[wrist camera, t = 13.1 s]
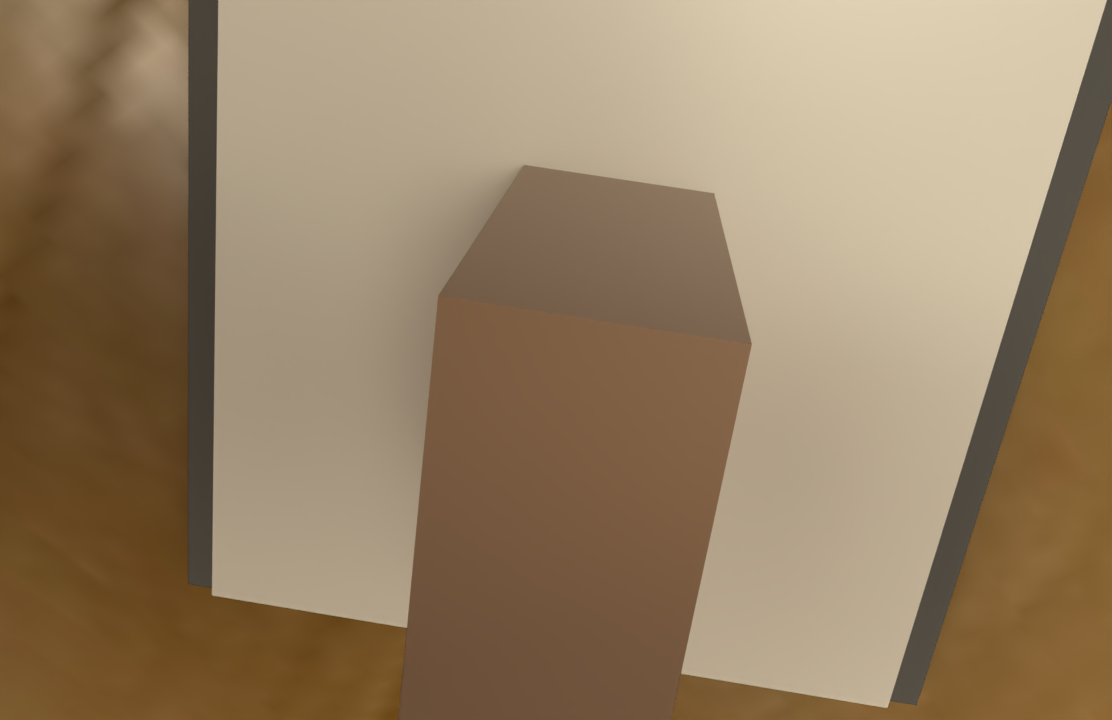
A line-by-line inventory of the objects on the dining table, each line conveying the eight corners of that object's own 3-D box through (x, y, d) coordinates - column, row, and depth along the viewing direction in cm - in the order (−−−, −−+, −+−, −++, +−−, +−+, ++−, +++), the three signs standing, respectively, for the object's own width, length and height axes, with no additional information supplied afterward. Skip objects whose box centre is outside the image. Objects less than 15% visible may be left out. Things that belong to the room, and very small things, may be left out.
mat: (196, 572, 26) (188, 583, 26) (199, -237, 19) (188, -242, 19) (911, 691, 25) (916, 705, 25) (1165, -106, 19) (1178, -107, 18)
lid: (247, 543, 25) (-1, 897, 16) (265, -138, 20) (-104, -233, 10) (868, 645, 24) (1001, 1077, 15) (1065, -26, 19) (1472, -14, 10)
